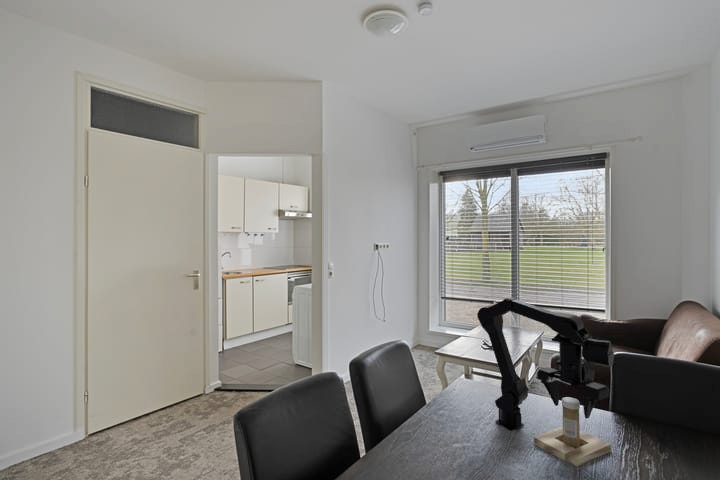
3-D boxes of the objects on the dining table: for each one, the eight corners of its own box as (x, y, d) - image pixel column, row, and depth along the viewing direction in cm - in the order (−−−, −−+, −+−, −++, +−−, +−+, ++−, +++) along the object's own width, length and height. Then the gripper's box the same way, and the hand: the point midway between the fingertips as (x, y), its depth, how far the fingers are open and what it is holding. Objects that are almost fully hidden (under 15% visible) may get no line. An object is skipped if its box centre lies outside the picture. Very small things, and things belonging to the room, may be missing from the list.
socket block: (533, 443, 110) (533, 437, 110) (567, 430, 117) (567, 424, 117) (576, 467, 98) (576, 459, 98) (610, 451, 106) (610, 444, 106)
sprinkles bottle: (583, 446, 107) (582, 400, 107) (575, 451, 105) (574, 404, 105) (567, 439, 111) (566, 395, 111) (559, 444, 109) (558, 398, 109)
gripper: (620, 363, 103) (621, 418, 103) (558, 346, 120) (559, 394, 120) (597, 370, 98) (597, 428, 98) (535, 351, 115) (536, 401, 115)
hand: (571, 411), depth 108 cm, fingers open, 9 cm apart
